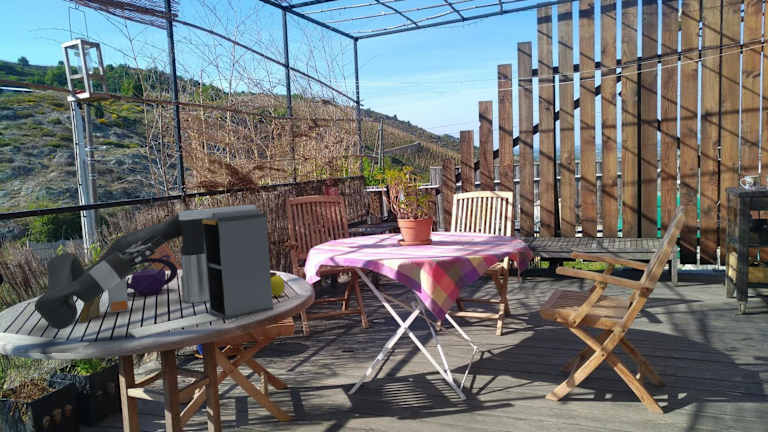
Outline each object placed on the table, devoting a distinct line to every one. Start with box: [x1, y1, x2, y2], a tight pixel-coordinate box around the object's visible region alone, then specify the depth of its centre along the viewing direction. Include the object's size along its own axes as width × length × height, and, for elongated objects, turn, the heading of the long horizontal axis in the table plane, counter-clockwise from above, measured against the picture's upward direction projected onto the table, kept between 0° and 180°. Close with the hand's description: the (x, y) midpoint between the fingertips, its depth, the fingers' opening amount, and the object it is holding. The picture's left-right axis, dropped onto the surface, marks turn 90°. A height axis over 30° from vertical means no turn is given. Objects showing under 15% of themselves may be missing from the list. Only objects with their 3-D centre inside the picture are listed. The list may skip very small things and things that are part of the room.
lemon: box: [271, 275, 285, 298], centre depth 196 cm, size 6×6×8 cm
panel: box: [177, 204, 257, 220], centre depth 174 cm, size 24×4×2 cm, turn 129°
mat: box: [127, 312, 219, 339], centre depth 166 cm, size 24×9×1 cm, turn 129°
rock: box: [78, 295, 101, 323], centre depth 180 cm, size 10×8×10 cm
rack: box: [202, 208, 274, 320], centre depth 178 cm, size 17×14×33 cm
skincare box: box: [107, 277, 130, 314], centre depth 188 cm, size 6×4×12 cm
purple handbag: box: [126, 254, 178, 297], centre depth 213 cm, size 22×21×25 cm
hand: (159, 237), depth 162 cm, fingers open, 8 cm apart
